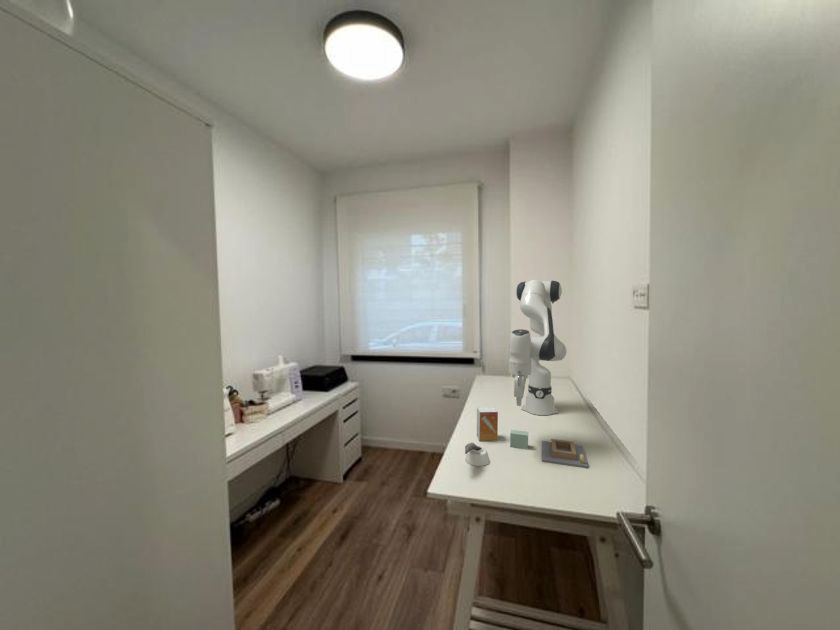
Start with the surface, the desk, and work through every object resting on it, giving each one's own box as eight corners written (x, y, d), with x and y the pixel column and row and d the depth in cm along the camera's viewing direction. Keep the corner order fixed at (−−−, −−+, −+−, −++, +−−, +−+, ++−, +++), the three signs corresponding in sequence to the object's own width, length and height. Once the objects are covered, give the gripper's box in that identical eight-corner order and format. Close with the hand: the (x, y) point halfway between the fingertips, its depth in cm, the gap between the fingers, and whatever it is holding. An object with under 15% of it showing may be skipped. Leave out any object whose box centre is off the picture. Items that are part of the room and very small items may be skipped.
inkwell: (491, 457, 135) (492, 432, 134) (480, 480, 118) (480, 452, 118) (469, 453, 138) (469, 429, 138) (454, 474, 122) (454, 447, 121)
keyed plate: (541, 442, 148) (541, 433, 148) (582, 447, 143) (582, 438, 143) (542, 461, 131) (542, 451, 131) (588, 468, 126) (588, 458, 126)
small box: (479, 441, 149) (479, 412, 149) (476, 435, 156) (476, 407, 155) (497, 440, 150) (498, 411, 149) (494, 435, 156) (494, 406, 155)
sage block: (510, 443, 147) (511, 429, 147) (528, 445, 145) (528, 431, 145) (510, 447, 144) (510, 433, 143) (527, 449, 141) (527, 435, 141)
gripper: (527, 375, 132) (526, 410, 132) (528, 364, 151) (528, 395, 152) (510, 374, 134) (509, 409, 134) (513, 363, 153) (513, 394, 154)
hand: (519, 401), depth 143 cm, fingers open, 8 cm apart
